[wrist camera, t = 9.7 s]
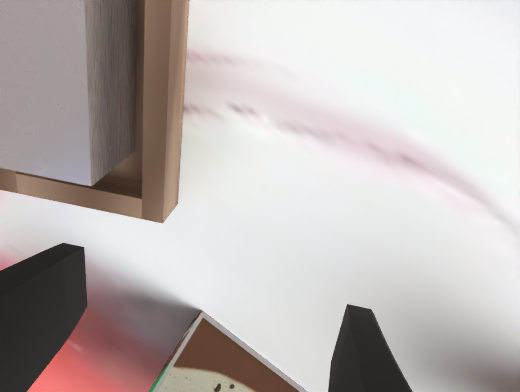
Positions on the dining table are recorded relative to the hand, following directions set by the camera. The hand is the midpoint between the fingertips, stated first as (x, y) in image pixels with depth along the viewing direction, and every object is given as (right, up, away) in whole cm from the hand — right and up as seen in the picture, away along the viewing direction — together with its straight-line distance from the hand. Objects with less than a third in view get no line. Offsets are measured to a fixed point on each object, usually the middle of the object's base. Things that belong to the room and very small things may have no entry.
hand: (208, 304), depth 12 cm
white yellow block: (-6, +9, +7) cm, 13 cm away
